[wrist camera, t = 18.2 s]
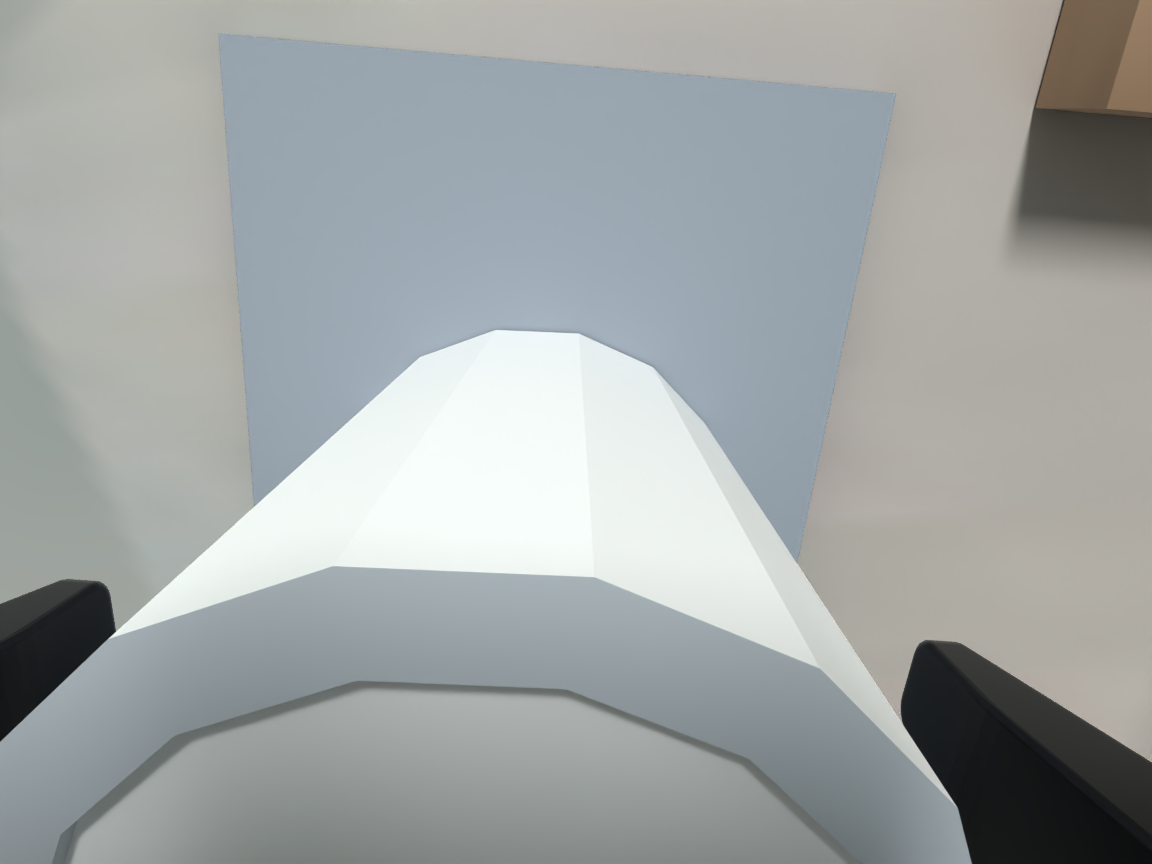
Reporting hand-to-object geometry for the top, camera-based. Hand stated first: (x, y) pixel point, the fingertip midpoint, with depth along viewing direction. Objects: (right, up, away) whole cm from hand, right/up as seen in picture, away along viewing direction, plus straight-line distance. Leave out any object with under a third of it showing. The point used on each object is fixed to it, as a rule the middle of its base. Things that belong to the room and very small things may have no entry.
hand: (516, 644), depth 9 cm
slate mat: (0, +1, +3) cm, 4 cm away
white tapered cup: (0, +1, +3) cm, 3 cm away
